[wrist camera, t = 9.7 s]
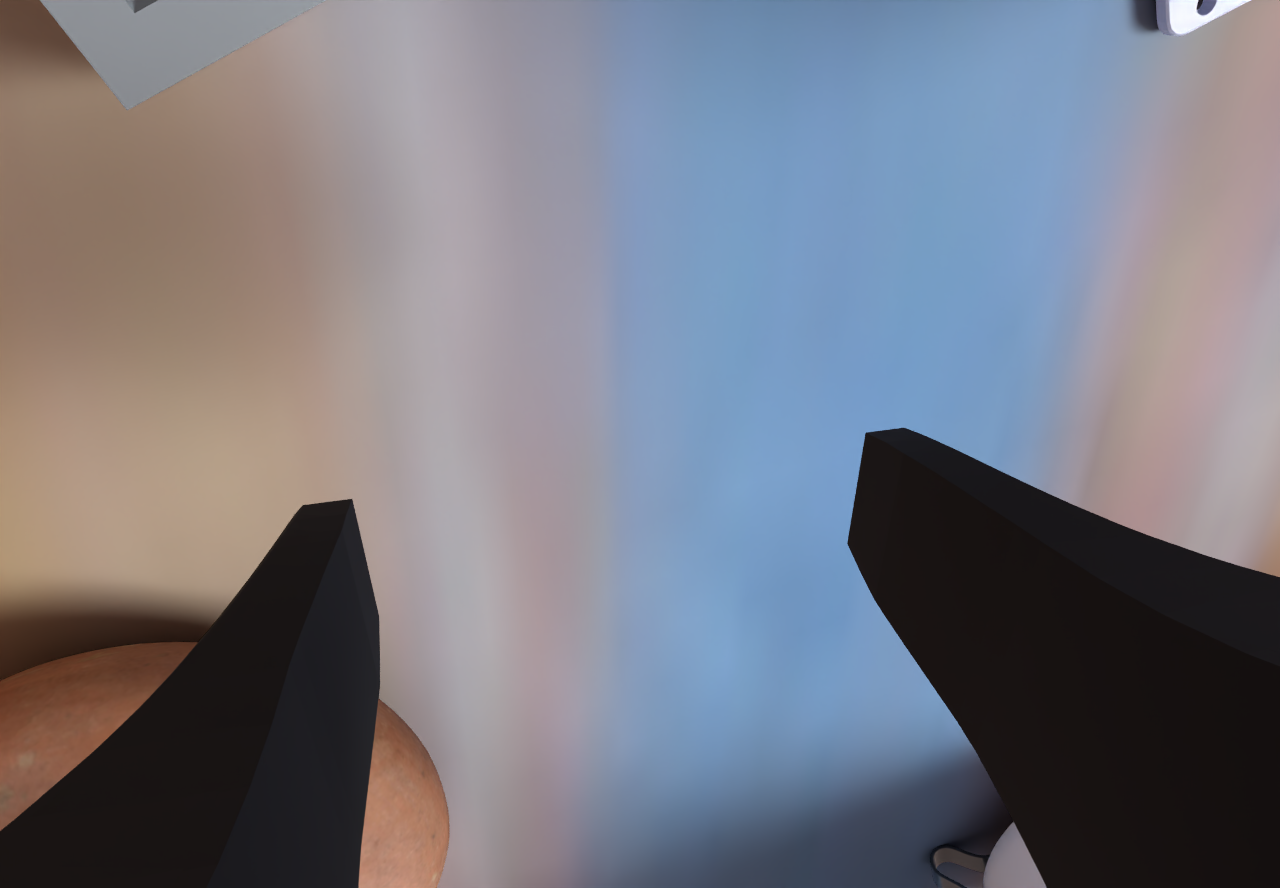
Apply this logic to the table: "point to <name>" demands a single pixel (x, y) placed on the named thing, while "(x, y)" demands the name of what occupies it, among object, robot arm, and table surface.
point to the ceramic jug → (128, 675)
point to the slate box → (164, 36)
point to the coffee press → (992, 864)
